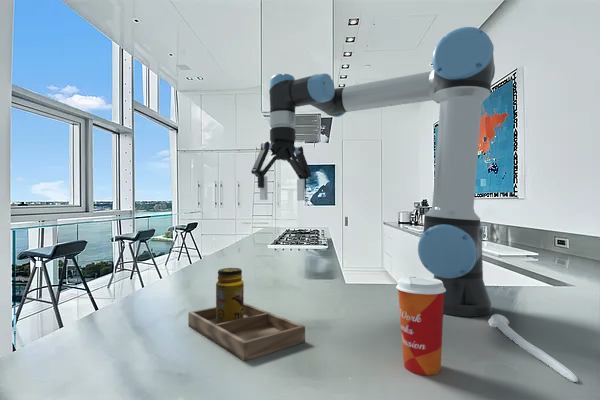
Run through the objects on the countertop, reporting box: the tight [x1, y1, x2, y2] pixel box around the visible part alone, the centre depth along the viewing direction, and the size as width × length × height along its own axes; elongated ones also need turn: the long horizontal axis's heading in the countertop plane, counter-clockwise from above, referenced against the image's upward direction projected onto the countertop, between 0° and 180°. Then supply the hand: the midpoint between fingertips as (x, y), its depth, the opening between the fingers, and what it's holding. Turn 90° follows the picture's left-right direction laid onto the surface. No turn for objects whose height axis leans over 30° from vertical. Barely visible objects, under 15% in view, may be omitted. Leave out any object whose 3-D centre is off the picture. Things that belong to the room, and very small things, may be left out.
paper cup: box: [395, 276, 446, 376], centre depth 57 cm, size 8×8×14 cm
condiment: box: [210, 267, 245, 324], centre depth 78 cm, size 7×8×12 cm
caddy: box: [187, 302, 306, 362], centre depth 73 cm, size 24×14×3 cm, turn 39°
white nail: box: [487, 313, 579, 383], centre depth 65 cm, size 28×4×3 cm, turn 175°
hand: (283, 200), depth 103 cm, fingers open, 13 cm apart
